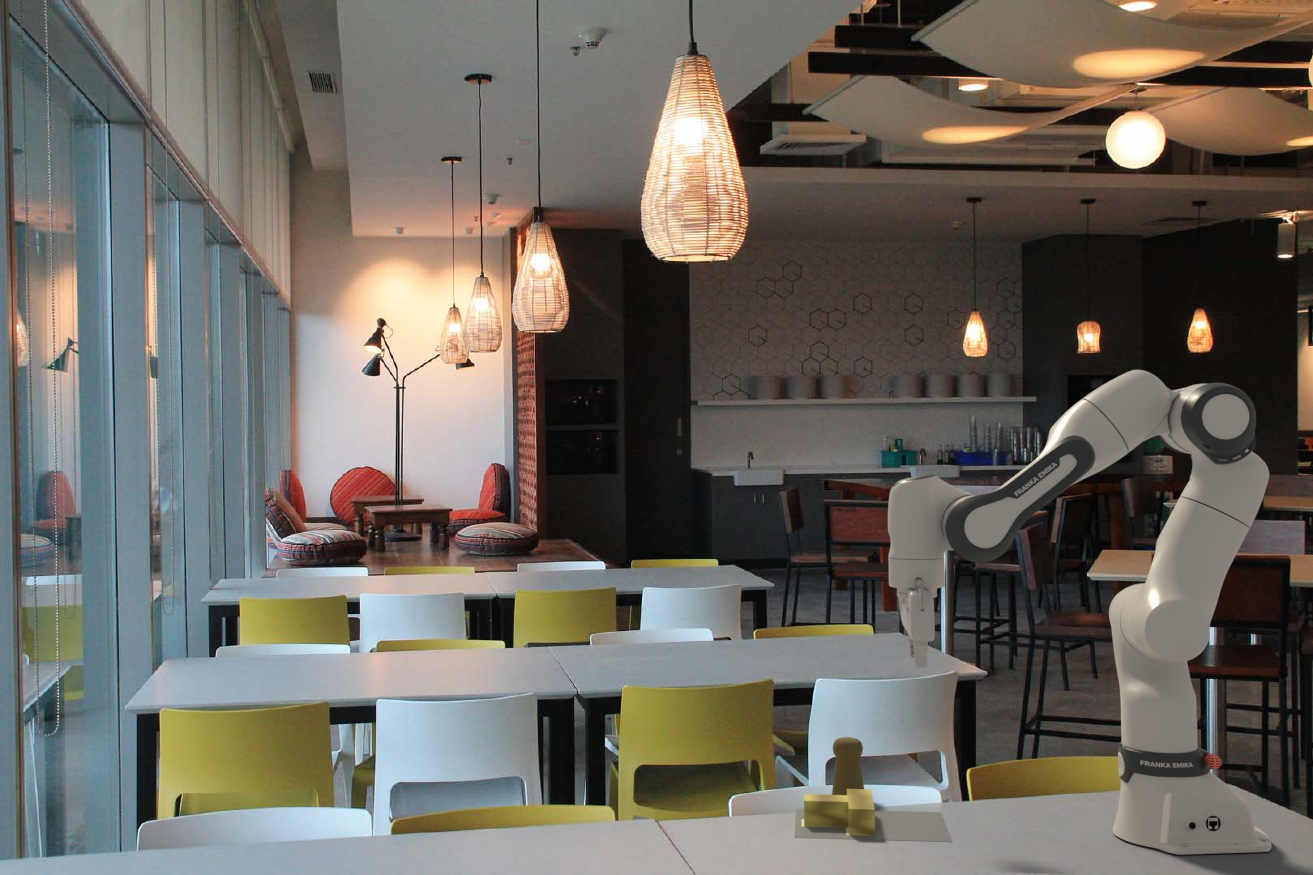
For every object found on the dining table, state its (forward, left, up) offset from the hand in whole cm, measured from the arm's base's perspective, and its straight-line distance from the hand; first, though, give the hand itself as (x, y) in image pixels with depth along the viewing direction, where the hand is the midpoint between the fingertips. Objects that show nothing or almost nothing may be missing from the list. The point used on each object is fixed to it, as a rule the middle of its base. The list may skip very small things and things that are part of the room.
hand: (918, 662), depth 193 cm
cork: (+11, -17, -27) cm, 34 cm away
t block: (+13, 0, -26) cm, 29 cm away
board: (+8, 0, -27) cm, 28 cm away
